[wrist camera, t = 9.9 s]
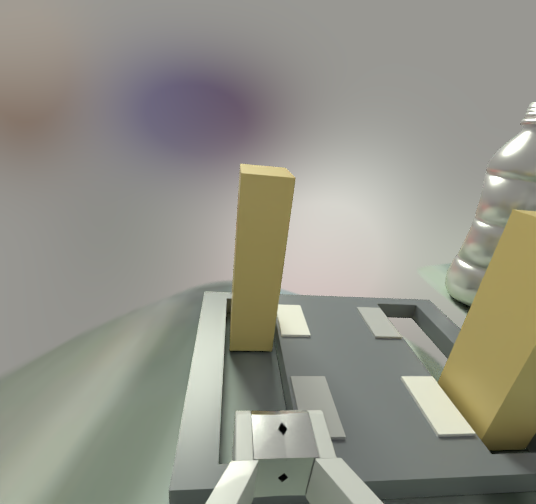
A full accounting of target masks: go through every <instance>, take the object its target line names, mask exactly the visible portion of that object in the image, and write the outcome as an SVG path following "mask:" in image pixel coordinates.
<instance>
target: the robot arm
mask: <svg viewBox="0 0 536 504" xmlns="http://www.w3.org/2000/svg"><path fill="white" fill-rule="evenodd" d="M279 495H280V496H287V495H306V498H307V500H308V501H309V503H310V504H384V503H383V502H382V501H381V500H380V499H379V498H378V497H377V496H376V495H375V494H374V493H373V492H372V491H371V490H370V488H369V487H368V486H367V485H366V484H365V483H364V482H363V481H362V480H361V479H360V478H359V477H358V476H357V474H356V473H355V472H354V471H353V470H352V469H351V468H350V467H349V466H348V465H347V464H346V463H345V462H344V460H343V459H342V458H337V457H336V454H335V451H334V447H333V444H332V441H331V437H330V434H329V431H328V427H327V424H326V421H325V417H324V414H323V412H322V411H321V410H307V411H306V410H284V411H235V420H234V431H233V446H232V461H230V463H229V465H228V466H227V468H226V470H225V471H224V473H223V475H222V476H221V478H220V480H219V481H218V483H217V485H216V486H215V488H214V490H213V492H212V493H211V495H210V497H209V498H208V500H207V502H206V503H205V504H251V503H252V501H253V498H255V497H267V496H279Z"/></svg>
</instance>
